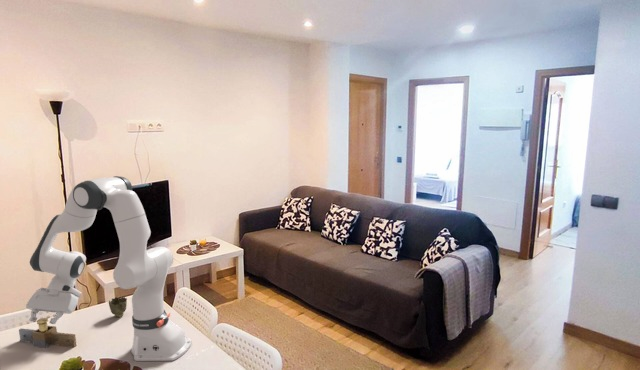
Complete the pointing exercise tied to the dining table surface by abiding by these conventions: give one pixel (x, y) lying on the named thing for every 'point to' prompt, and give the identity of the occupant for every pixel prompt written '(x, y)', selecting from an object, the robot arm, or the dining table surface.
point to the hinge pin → (42, 325)
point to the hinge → (47, 337)
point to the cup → (118, 306)
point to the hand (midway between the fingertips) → (41, 322)
